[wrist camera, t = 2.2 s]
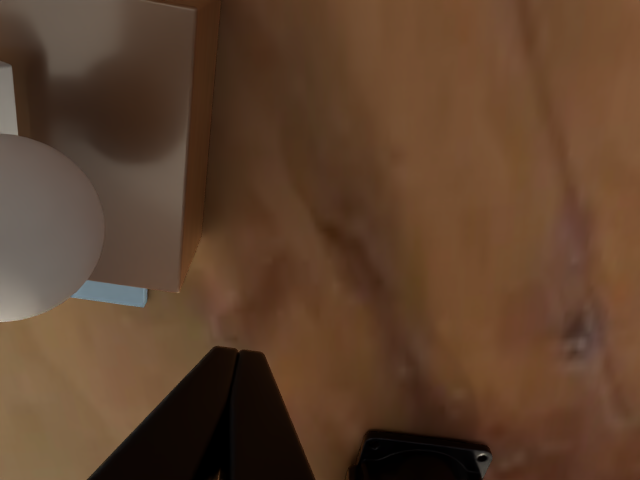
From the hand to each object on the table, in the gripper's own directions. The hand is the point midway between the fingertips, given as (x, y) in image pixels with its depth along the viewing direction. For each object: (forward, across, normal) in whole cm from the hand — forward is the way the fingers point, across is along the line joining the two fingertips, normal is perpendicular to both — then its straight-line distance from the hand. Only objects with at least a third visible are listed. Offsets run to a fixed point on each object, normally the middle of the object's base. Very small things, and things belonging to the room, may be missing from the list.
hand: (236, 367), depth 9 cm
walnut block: (+12, +6, 0) cm, 13 cm away
